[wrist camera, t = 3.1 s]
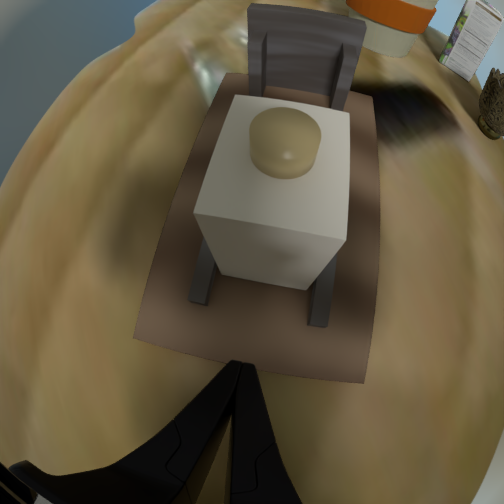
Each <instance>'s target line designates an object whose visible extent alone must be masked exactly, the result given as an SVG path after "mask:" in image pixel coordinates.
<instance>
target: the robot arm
mask: <svg viewBox="0 0 504 504" xmlns="http://www.w3.org/2000/svg"><path fill="white" fill-rule="evenodd" d="M231 415H232V418H231ZM230 418H231V427H230V438H229V450H228V461H227V473H226V485H225V496H224V504H302V502H301V500H300V498H299V496H298V494H297V492H296V490H295V488H294V486H293V484H292V482H291V480H290V478H289V476H288V474H287V471H286V469H285V467H284V464H283V462H282V459H281V456H280V453H279V449H278V446H277V443H276V439H275V436H274V432H273V429H272V425H271V422H270V418H269V415H268V411H267V408H266V404H265V400H264V397H263V393H262V389H261V386H260V382H259V378H258V374H257V371H256V367H255V365H254V364H253V363H248V362H243V363H242V361H238V360H233V359H232V360H230V361H229V362H228V363H227V364H226V365H225V366H224V367H223V369H222V370H221V371H220V372H219V373H218V374H217V375H216V376H215V377H214V378H213V379H212V380H211V381H210V382H209V383H208V384H207V385H206V386H205V387H204V388H203V389H202V390H201V392H200V393H199V394H198V395H197V396H196V397H195V398H194V399H193V400H192V401H191V402H190V403H189V404H188V405H187V406H186V407H185V408H184V409H183V410H182V411H181V412H180V413H179V414H178V415H177V416H176V417H175V418H174V420H171V421H170V422H169V423H168V424H167V425H166V426H165V427H164V428H163V429H162V430H161V431H160V432H158V433H157V434H156V435H155V436H154V437H152V438H151V439H150V440H148V441H147V442H146V443H144V444H143V445H141V446H140V447H138V448H137V449H135V450H134V451H133V452H131V453H130V454H128V455H127V456H125V457H123V458H122V459H120V460H119V461H117V462H115V463H113V464H111V465H109V466H107V467H103V468H99V469H95V470H90V471H85V472H80V473H74V474H68V475H61V476H55V475H50V474H47V473H45V472H43V471H41V470H40V469H39V468H37V467H36V466H35V465H33V464H32V463H30V462H29V461H27V460H25V461H21V462H18V463H15V464H13V465H12V466H10V467H9V469H7V468H6V467H5V466H4V465H3V464H2V463H1V462H0V504H195V503H196V500H197V498H198V496H199V494H200V491H201V489H202V487H203V484H204V482H205V480H206V477H207V475H208V473H209V470H210V468H211V465H212V463H213V461H214V458H215V456H216V453H217V451H218V448H219V446H220V443H221V441H222V438H223V436H224V433H225V431H226V428H227V426H228V423H229V421H230ZM36 492H37V493H36Z"/></svg>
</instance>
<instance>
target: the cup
mask: <svg viewBox="0 0 504 504" xmlns="http://www.w3.org/2000/svg"><path fill="white" fill-rule="evenodd" d="M479 108H480V112H481V114H482V115H480V116H479V118H478V124H479V127H480V129H481V130H482V131H483V133H484V134H485V135H486V136H487V137H489V138H490V139H492V140H497V139H499V138H500V136H504V73H502V74H500V71H499V69H497V70H496V72H495V68H492V70H491V72H490V74H489V77H488V79H487V81H486V83H485V86H484V88H483V90H482V93H481V95H480V99H479Z"/></svg>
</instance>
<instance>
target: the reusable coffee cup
mask: <svg viewBox="0 0 504 504" xmlns="http://www.w3.org/2000/svg"><path fill="white" fill-rule="evenodd" d="M437 2H438V0H346V3H347V5H348V6H349V17H351V18H355V19H359V20H363V21H365V23H366V26H367V29H366V33H365V37H364V41H363V44H362V46H363V47H365V48H367V49H369V50H372V51H374V52H377V53H380V54H383V55H386V56H390V57H398V58H399V57H405V56H406V55H407V53H408V52H409V50H410V48H411V47H412V45H413V43H414V42H415V40H416V38H417V37H418V35H419V34H421V33H423V32H424V31H425V29H426V28H427V26H428V24H429V22H430V20H431V19H432V17H433V16H434V14H435V12H436V8H435V5H436V4H437Z"/></svg>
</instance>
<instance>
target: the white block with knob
mask: <svg viewBox="0 0 504 504" xmlns="http://www.w3.org/2000/svg"><path fill="white" fill-rule="evenodd" d="M349 179H350V116H349V113H347V112H342V111H338V110H334V109H329V108H324V107H319V106H314V105H309V104H303V103H298V102H292V101H285V100H278V99H271V98H263V97H255V96H245V95H235V96H234V99H233V101H232V104H231V106H230V109H229V111H228V114H227V117H226V119H225V122H224V124H223V127H222V130H221V132H220V135H219V138H218V141H217V143H216V146H215V149H214V152H213V155H212V157H211V160H210V163H209V166H208V169H207V172H206V175H205V178H204V181H203V184H202V187H201V190H200V193H199V196H198V199H197V202H196V205H195V209H194V212H193V214H194V216H195V218H196V220H197V222H198V225H199V227H200V229H201V231H202V234H203V236H204V238H205V240H206V242H207V244H208V247H209V249H210V251H211V253H212V255H213V257H214V259H215V262H216V264H217V266H218V268H219V270H220V272H221V274H222V275H226V276H231V277H236V278H242V279H247V280H252V281H257V282H262V283H268V284H273V285H279V286H284V287H290V288H295V289H301V290H307V289H308V287H309V286H310V285H311V284H312V283H313V281H314V280H315V279H316V278H317V276H318V275H319V274H320V273H321V272H322V270H323V269H324V268H325V267H326V265H327V264H328V263H329V262H330V260H331V259H332V258H333V257H334V255H335V254H336V253H337V251H338V250H339V249H340V248H341V246H342V245H343V244H344V242H345V241H346V236H347V222H348V204H349Z"/></svg>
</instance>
